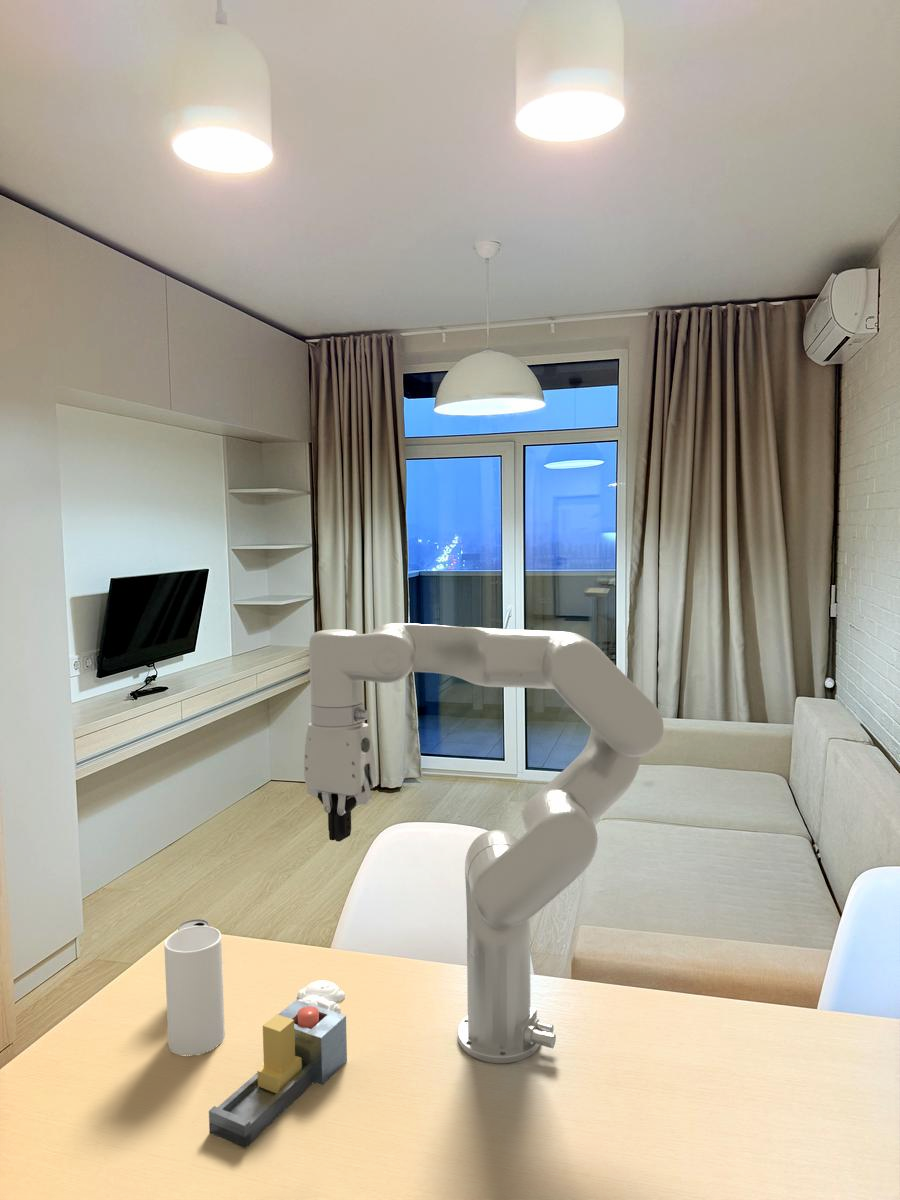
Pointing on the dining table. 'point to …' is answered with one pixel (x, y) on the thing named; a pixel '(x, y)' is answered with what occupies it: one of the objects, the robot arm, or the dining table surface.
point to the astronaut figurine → (322, 995)
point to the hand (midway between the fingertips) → (340, 837)
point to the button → (308, 1017)
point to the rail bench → (260, 1107)
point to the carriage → (278, 1054)
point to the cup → (194, 990)
